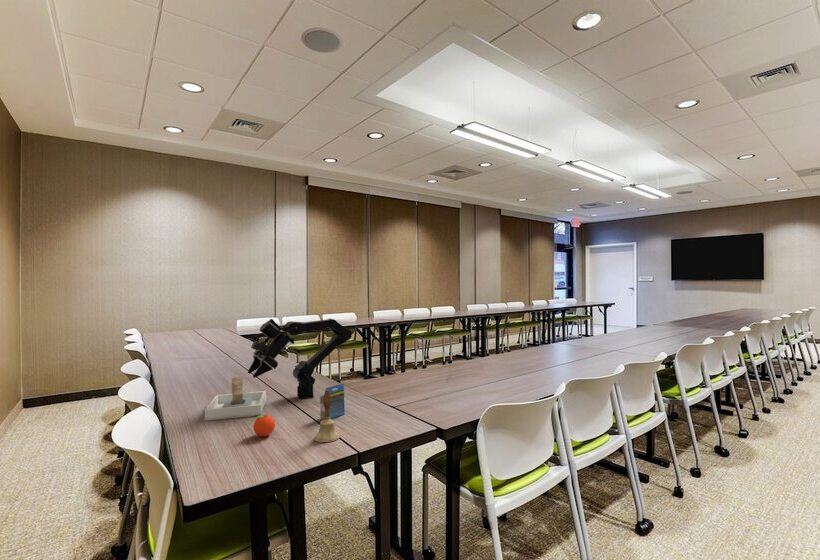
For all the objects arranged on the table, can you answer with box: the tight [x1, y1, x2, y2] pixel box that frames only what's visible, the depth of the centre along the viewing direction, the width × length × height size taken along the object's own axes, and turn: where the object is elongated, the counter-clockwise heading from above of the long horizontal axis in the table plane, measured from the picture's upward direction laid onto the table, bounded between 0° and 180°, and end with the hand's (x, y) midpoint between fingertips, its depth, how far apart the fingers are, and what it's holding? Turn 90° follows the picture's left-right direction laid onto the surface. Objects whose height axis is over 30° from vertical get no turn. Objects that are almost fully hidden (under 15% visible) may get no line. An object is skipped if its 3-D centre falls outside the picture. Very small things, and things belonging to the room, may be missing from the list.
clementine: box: [249, 414, 276, 437], centre depth 133 cm, size 8×7×7 cm
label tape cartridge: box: [319, 382, 346, 421], centre depth 151 cm, size 9×4×12 cm, turn 139°
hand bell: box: [314, 389, 341, 443], centre depth 131 cm, size 8×8×16 cm
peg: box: [231, 376, 244, 405], centre depth 161 cm, size 4×4×12 cm
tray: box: [204, 390, 267, 422], centre depth 161 cm, size 20×20×4 cm
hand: (250, 375), depth 164 cm, fingers open, 9 cm apart
